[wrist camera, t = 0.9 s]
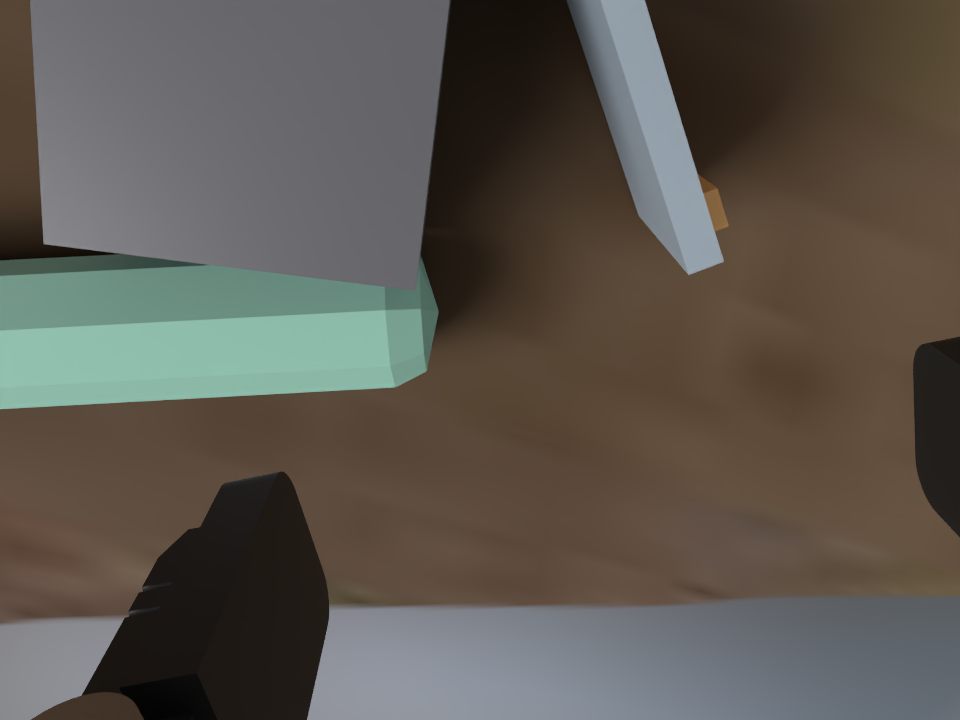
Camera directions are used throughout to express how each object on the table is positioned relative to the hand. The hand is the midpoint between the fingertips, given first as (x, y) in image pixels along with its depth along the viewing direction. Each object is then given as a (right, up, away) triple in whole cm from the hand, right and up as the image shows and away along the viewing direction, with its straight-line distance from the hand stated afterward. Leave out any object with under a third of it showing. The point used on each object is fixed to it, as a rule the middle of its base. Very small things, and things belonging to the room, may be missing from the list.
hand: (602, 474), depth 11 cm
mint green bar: (-15, +3, +21) cm, 26 cm away
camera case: (-7, +13, +16) cm, 22 cm away
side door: (+2, +13, +17) cm, 21 cm away
